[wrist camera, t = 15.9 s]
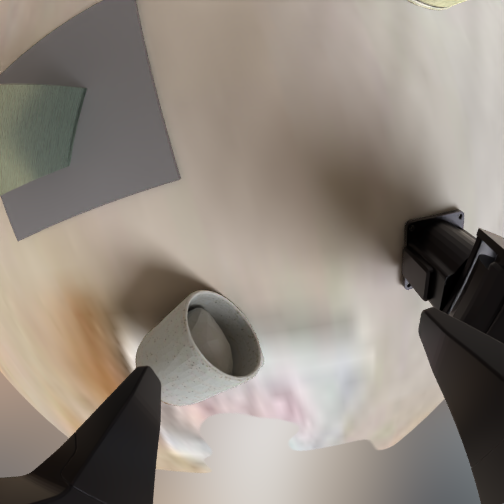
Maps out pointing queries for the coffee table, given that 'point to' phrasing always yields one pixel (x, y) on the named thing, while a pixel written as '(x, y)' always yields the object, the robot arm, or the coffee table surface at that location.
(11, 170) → the tin
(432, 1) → the coffee can
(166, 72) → the coffee table surface
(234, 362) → the ceramic mug
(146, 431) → the robot arm
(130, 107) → the mat
